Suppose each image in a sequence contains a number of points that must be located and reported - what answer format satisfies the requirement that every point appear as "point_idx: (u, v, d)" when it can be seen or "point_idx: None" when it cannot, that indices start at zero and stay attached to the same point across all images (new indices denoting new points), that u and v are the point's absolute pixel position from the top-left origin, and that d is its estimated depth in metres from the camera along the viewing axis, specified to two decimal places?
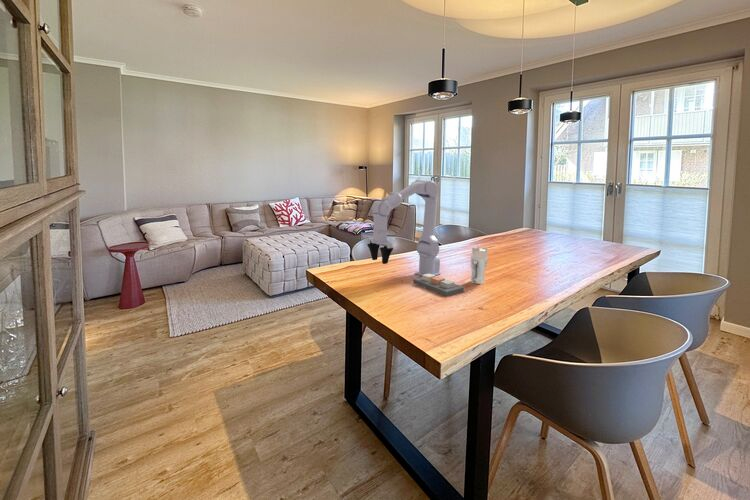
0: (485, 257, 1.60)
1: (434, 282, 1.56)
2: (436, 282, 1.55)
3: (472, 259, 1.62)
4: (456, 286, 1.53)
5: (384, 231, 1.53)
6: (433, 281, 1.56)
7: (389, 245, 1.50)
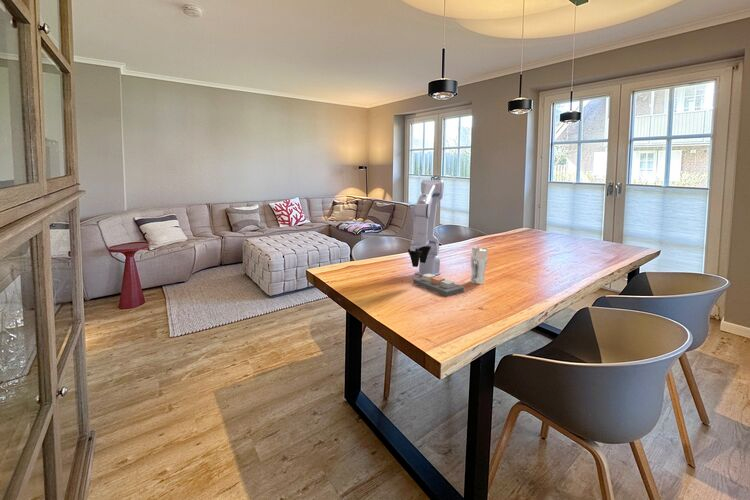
0: (485, 257, 1.60)
1: (434, 282, 1.56)
2: (436, 282, 1.55)
3: (472, 259, 1.62)
4: (456, 286, 1.53)
5: (417, 234, 1.51)
6: (433, 281, 1.56)
7: (411, 247, 1.48)
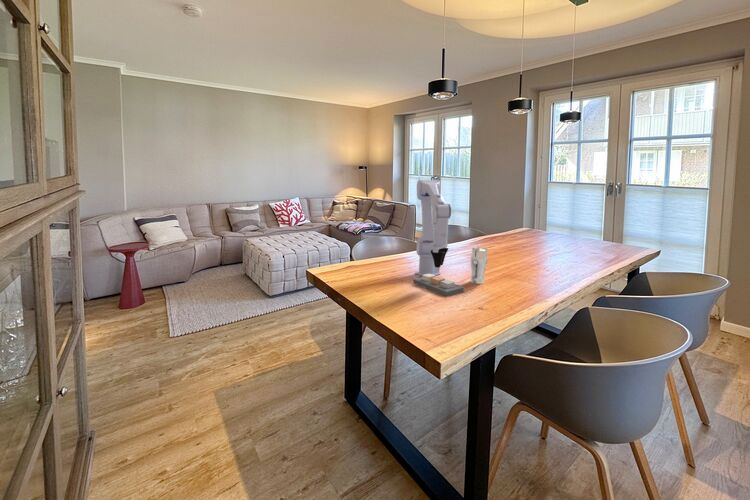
0: (485, 257, 1.60)
1: (434, 282, 1.56)
2: (436, 282, 1.55)
3: (472, 259, 1.62)
4: (456, 286, 1.53)
5: (439, 235, 1.50)
6: (433, 281, 1.56)
7: (434, 249, 1.47)
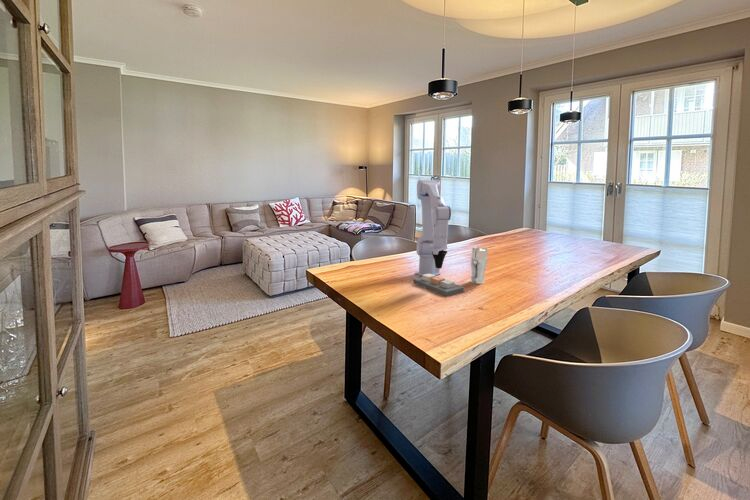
0: (485, 257, 1.60)
1: (434, 282, 1.56)
2: (436, 282, 1.55)
3: (472, 259, 1.62)
4: (456, 286, 1.53)
5: (439, 237, 1.50)
6: (433, 281, 1.56)
7: (434, 251, 1.47)
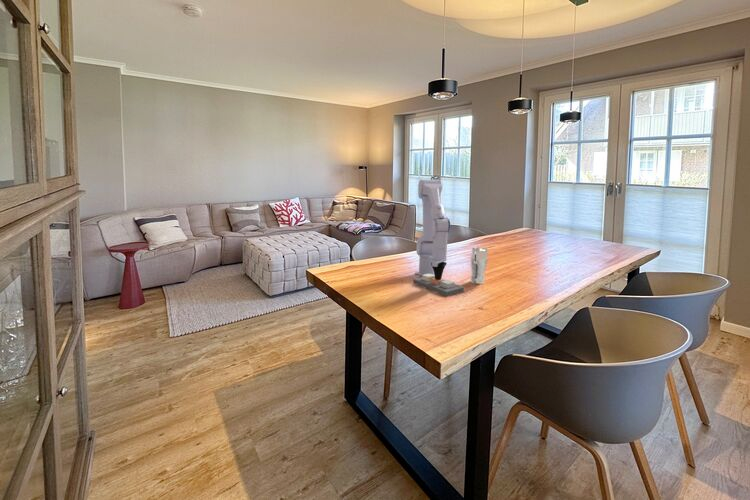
0: (485, 257, 1.60)
1: (434, 283, 1.56)
2: (436, 283, 1.55)
3: (472, 259, 1.62)
4: (456, 286, 1.53)
5: (438, 249, 1.51)
6: (433, 281, 1.56)
7: (433, 263, 1.48)
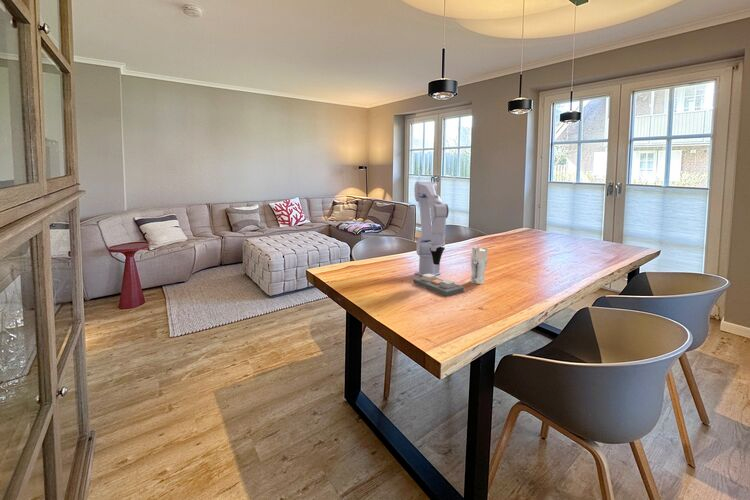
0: (485, 257, 1.60)
1: None
2: None
3: (472, 259, 1.62)
4: (456, 286, 1.53)
5: (436, 234, 1.54)
6: None
7: (432, 248, 1.51)
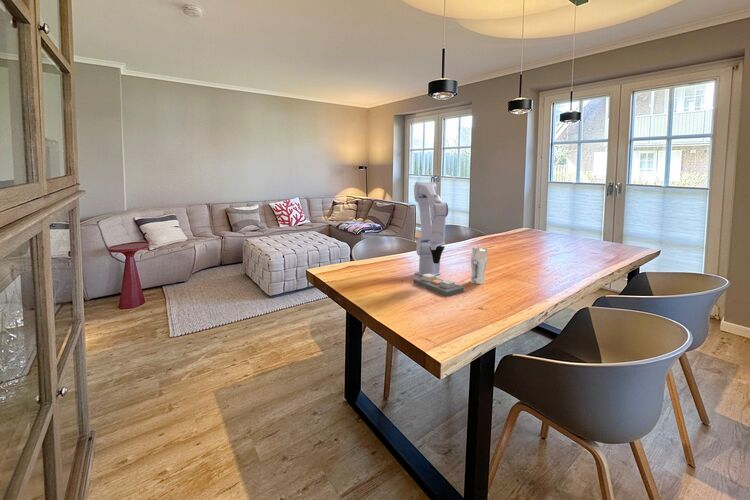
0: (485, 257, 1.60)
1: None
2: None
3: (472, 259, 1.62)
4: (456, 286, 1.53)
5: (436, 233, 1.54)
6: None
7: (432, 247, 1.52)
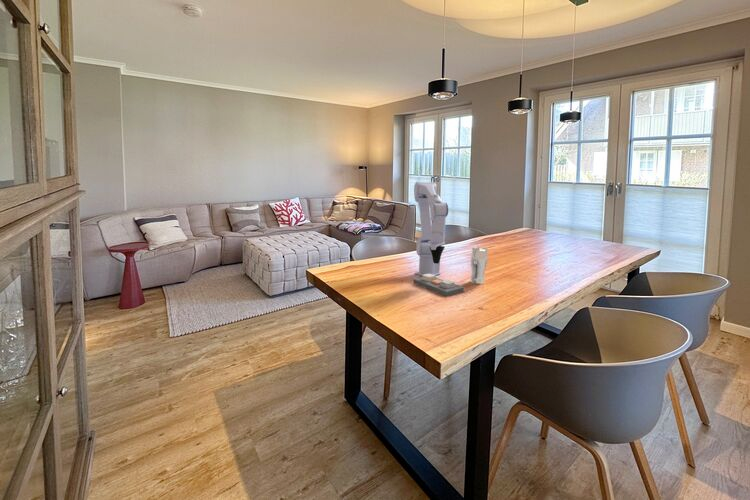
0: (485, 257, 1.60)
1: None
2: None
3: (472, 259, 1.62)
4: (456, 286, 1.53)
5: (436, 233, 1.54)
6: None
7: (432, 247, 1.52)
